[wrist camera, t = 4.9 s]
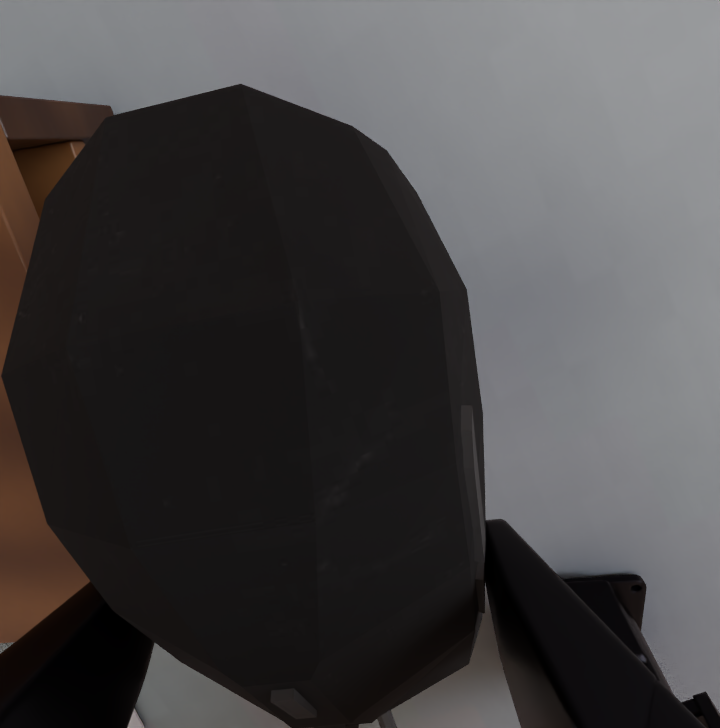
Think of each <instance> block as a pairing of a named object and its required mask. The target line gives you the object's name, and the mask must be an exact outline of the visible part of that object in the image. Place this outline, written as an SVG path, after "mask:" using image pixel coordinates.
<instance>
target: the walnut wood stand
mask: <svg viewBox="0 0 720 728" xmlns="http://www.w3.org/2000/svg"><path fill="white" fill-rule="evenodd" d="M109 116H113V112H112V108H111V107H110V106H107V105H97V104H86V103H75V102H65V101H54V100H44V99H33V98H23V97H12V96H2V95H0V643H10V642H16V641H17V640H18V639H20V638H21V637H22V636H23V635H25V634H26V633H27V632H28V631H30V630H31V629H32V628H33V627H34V626H36V625H37V624H38V623H39V622H41V621H42V620H43V619H44V618H46V617H47V616H48V615H49V614H50V613H52V612H53V611H54V610H55V609H57V608H58V607H59V606H60V605H62V604H63V603H64V602H65V601H67V600H68V599H69V598H70V597H71V596H73V595H74V594H75V593H76V592H78V591H79V590H80V589H81V588H83V587H84V586H85V585H86V584H87V583H89V582H90V580H89V579H88V577H87V576H86V575H85V573H84V572H83V571H82V569H81V568H80V567H79V565H78V564H77V563H76V561H75V560H74V559H73V558H72V556H71V555H70V554H69V552H68V551H67V550H66V548H65V547H64V546H63V544H62V543H61V542H60V540H59V539H58V538H57V536H56V535H55V534H54V532H53V531H52V530H51V528H50V527H49V526H48V525H47V522H46V519H45V516H44V512H43V509H42V506H41V503H40V500H39V496H38V493H37V490H36V487H35V483H34V480H33V477H32V474H31V471H30V467H29V464H28V461H27V458H26V455H25V451H24V448H23V445H22V442H21V438H20V435H19V432H18V429H17V426H16V422H15V419H14V416H13V413H12V410H11V406H10V403H9V400H8V397H7V393H6V390H5V387H4V384H3V381H2V377H1V374H2V370H3V366H4V362H5V358H6V354H7V350H8V346H9V342H10V338H11V334H12V330H13V326H14V322H15V318H16V314H17V310H18V306H19V302H20V298H21V294H22V290H23V286H24V282H25V278H26V274H27V270H28V266H29V262H30V258H31V254H32V249H33V245H34V241H35V237H36V233H37V229H38V225H39V221H40V217H41V213H42V209H43V205H44V201H45V199H46V197H47V196H48V194H49V193H50V192H51V190H52V189H53V188H54V186H55V185H56V184H57V182H58V181H59V180H60V178H61V177H62V176H63V174H64V173H65V172H66V170H67V169H68V168H69V166H70V165H71V163H72V162H73V161H74V159H75V158H76V157H77V155H78V154H79V153H80V151H81V150H82V149H83V147H84V146H85V143H87V142H88V141H89V139H90V138H91V137H92V135H93V134H94V132H95V131H96V130H97V128H98V127H99V126H100V124H101V123H102V122H103V120H104V119H105V118H106V117H109Z"/></svg>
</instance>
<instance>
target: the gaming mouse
mask: <svg viewBox="0 0 720 728" xmlns="http://www.w3.org/2000/svg"><path fill="white" fill-rule="evenodd" d="M1 377H2V381H3V384H4V387H5V390H6V393H7V397H8V400H9V403H10V406H11V410H12V413H13V416H14V419H15V422H16V426H17V429H18V432H19V435H20V438H21V442H22V445H23V448H24V451H25V455H26V458H27V461H28V464H29V467H30V471H31V474H32V477H33V480H34V483H35V487H36V490H37V493H38V496H39V500H40V503H41V506H42V509H43V512H44V516H45V519H46V522H47V525H48V526H49V527H50V528H51V530H52V531H53V532H54V534H55V535H56V536H57V538H58V539H59V540H60V542H61V543H62V544H63V546H64V547H65V548H66V550H67V551H68V552H69V554H70V555H71V556H72V558H73V559H74V560H75V561H76V563H77V564H78V565H79V567H80V568H81V569H82V571H83V572H84V573H85V575H86V576H87V577H88V579H89V580H90V581H91V583H92V584H93V585H94V587H95V588H96V589H97V591H98V592H99V593H100V594H101V596H102V597H103V598H104V600H105V601H106V602H107V604H108V605H109V606H110V608H111V609H112V610H113V611H114V612H115V613H117V614H118V615H119V616H121V617H122V618H123V619H125V620H126V621H127V622H129V623H130V624H131V625H133V626H134V627H135V628H137V629H138V630H139V631H141V632H142V633H143V634H144V635H146V636H147V637H148V638H150V639H151V640H152V641H154V642H155V643H156V644H158V645H159V646H160V647H162V648H163V649H164V650H166V651H167V652H168V653H170V654H171V655H172V656H174V657H175V658H176V659H178V660H179V661H180V662H182V663H184V664H185V665H187V666H189V667H191V668H192V669H194V670H196V671H197V672H199V673H201V674H203V675H204V676H206V677H208V678H210V679H211V680H213V681H215V682H216V683H218V684H220V685H222V686H223V687H225V688H227V689H229V690H230V691H232V692H234V693H235V694H237V695H239V696H241V697H242V698H244V699H246V700H248V701H249V702H251V703H253V704H254V705H256V706H258V707H260V708H261V709H263V710H265V711H267V712H268V713H270V714H272V715H273V716H275V717H277V718H279V719H280V720H282V721H284V722H285V723H286V724H287V725H289V726H290V727H291V728H358V726H359V724H364V723H372V722H373V721H375V720H376V719H378V721H379V724H380V726H381V728H397V726H396V724H395V721H394V718H393V716H392V713H391V709H393V708H395V707H396V706H398V705H400V704H402V703H403V702H405V701H407V700H408V699H410V698H412V697H413V696H415V695H417V694H419V693H420V692H422V691H424V690H425V689H427V688H429V687H430V686H432V685H434V684H436V683H437V682H439V681H441V680H442V679H444V678H446V677H447V676H449V675H451V674H453V673H454V672H456V671H458V670H459V669H461V668H463V667H464V666H466V665H468V664H469V662H470V658H471V655H472V651H473V648H474V644H475V641H476V637H477V634H478V631H479V627H480V624H481V620H482V613H485V541H486V537H485V532H486V522H485V477H484V443H483V412H482V404H481V397H480V389H479V381H478V373H477V366H476V358H475V350H474V342H473V335H472V327H471V319H470V312H469V304H468V296H467V289H466V287H465V285H464V283H463V281H462V279H461V277H460V276H459V274H458V272H457V270H456V268H455V266H454V264H453V262H452V260H451V258H450V256H449V254H448V252H447V250H446V248H445V246H444V244H443V243H442V241H441V239H440V237H439V235H438V233H437V231H436V229H435V227H434V225H433V223H432V221H431V219H430V217H429V215H428V213H427V211H426V210H425V208H424V206H423V204H422V202H421V200H420V198H419V196H418V194H417V192H416V191H415V189H414V188H413V187H412V185H411V184H410V182H409V181H408V180H407V178H406V177H405V175H404V174H403V173H402V171H401V170H400V169H399V167H398V166H397V164H396V163H395V162H394V160H393V159H392V157H391V156H390V155H389V153H388V152H387V150H385V149H384V148H382V147H381V146H380V145H378V144H377V143H375V142H374V141H372V140H371V139H370V138H368V137H367V136H365V135H364V134H363V133H361V132H360V131H358V130H357V129H355V128H354V127H353V126H350V125H348V124H345V123H343V122H340V121H337V120H335V119H332V118H329V117H327V116H324V115H322V114H319V113H316V112H314V111H311V110H308V109H306V108H303V107H300V106H298V105H295V104H293V103H290V102H287V101H285V100H282V99H279V98H277V97H274V96H271V95H269V94H266V93H264V92H261V91H258V90H256V89H253V88H250V87H248V86H245V85H242V84H238V85H234V86H230V87H226V88H222V89H218V90H214V91H210V92H206V93H202V94H198V95H194V96H190V97H186V98H182V99H178V100H174V101H170V102H166V103H162V104H158V105H154V106H150V107H146V108H141V109H137V110H133V111H129V112H125V113H121V114H117V115H113V116H109V117H106V118H105V119H104V120H103V122H102V123H101V124H100V126H99V127H98V128H97V130H96V131H95V132H94V134H93V135H92V137H91V138H90V139H89V141H88V142H87V143H86V145H85V146H84V147H83V149H82V150H81V151H80V153H79V154H78V155H77V157H76V158H75V159H74V161H73V162H72V163H71V165H70V166H69V168H68V169H67V170H66V172H65V173H64V174H63V176H62V177H61V178H60V180H59V181H58V182H57V184H56V185H55V186H54V188H53V189H52V190H51V192H50V193H49V194H48V196H47V197H46V199H45V201H44V205H43V209H42V213H41V217H40V221H39V225H38V229H37V233H36V237H35V241H34V245H33V249H32V254H31V258H30V262H29V266H28V270H27V274H26V278H25V282H24V286H23V290H22V294H21V298H20V302H19V306H18V310H17V314H16V318H15V322H14V326H13V330H12V334H11V338H10V342H9V346H8V350H7V354H6V358H5V362H4V366H3V370H2V374H1Z"/></svg>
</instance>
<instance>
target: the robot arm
mask: <svg viewBox="0 0 720 728" xmlns="http://www.w3.org/2000/svg"><path fill="white" fill-rule="evenodd" d="M485 522H486V532H485V537H486V541H485V583H486V589H487V594H488V599H489V604H490V610H491V615H492V620H493V626H494V631H495V636H496V642H497V646H498V651H499V655H500V659H501V663H502V666H503V670H504V673H505V676H506V680H507V683H508V686H509V690H510V693H511V696H512V699H513V703H514V706H515V709H516V712H517V716H518V719H519V722H520V725H521V728H720V713H719V711H718V710H717V708H716V707H715V705H714V704H713V702H712V701H711V699H710V697H709V696H708V694H707V693H706V692H703V693H700V694H697V695H694V696H693V698H694V699H690V700H687V701H684V702H680V701H679V700H678V699H677V698H676V697H675V696H674V694H673V692H672V690H671V688H670V687H669V685H668V683H667V681H666V679H665V677H664V675H663V673H662V671H661V669H660V667H659V665H658V663H657V662H656V660H655V658H654V656H653V654H652V652H651V650H650V648H649V646H648V644H647V642H646V640H645V638H644V637H643V635H642V633H641V625H642V618H643V610H644V602H645V594H646V584H645V582H644V581H643V579H642V578H641V577H640V576H639V575H619V576H606V577H592V578H578V579H564V580H562V579H561V578H560V577H559V576H558V575H557V574H556V573H555V572H554V571H553V570H552V569H551V568H550V567H549V566H548V565H547V564H546V562H545V561H544V560H543V559H542V558H541V557H540V556H539V555H538V554H537V553H536V552H535V551H534V550H533V549H532V548H531V547H530V546H529V545H528V544H527V543H526V542H525V541H524V540H523V539H522V538H521V537H520V536H519V535H518V534H517V532H516V531H515V530H514V529H513V528H512V527H511V526H510V525H509V524H508V523H507V522H506V521H504V520H502V519H495V520H485ZM153 646H154V641H152V640H151V639H150V638H148V637H147V636H146V635H144V634H143V633H142V632H141V631H139V630H138V629H137V628H135V627H134V626H133V625H131V624H130V623H129V622H127V621H126V620H125V619H123V618H122V617H121V616H119V615H118V614H117V613H115V612H114V611H113V610H112V609H111V608H110V606H109V605H108V604H107V602H106V601H105V600H104V598H103V597H102V596H101V594H100V593H99V592H98V591H97V589H96V588H95V587H94V585H93V584H92V583H91V581H90V582H89V583H87V584H86V585H85V586H84V587H83V588H81V589H80V590H79V591H78V592H76V593H75V594H74V595H73V596H71V597H70V598H69V599H68V600H67V601H65V602H64V603H63V604H62V605H60V606H59V607H58V608H57V609H55V610H54V611H53V612H52V613H50V614H49V615H48V616H47V617H46V618H44V619H43V620H42V621H41V622H39V623H38V624H37V625H36V626H34V627H33V628H32V629H31V630H30V631H28V632H27V633H26V634H25V635H23V636H22V637H21V638H20V639H18V640H17V641H16V642H15V643H13V644H12V645H11V646H10V647H9V648H7V649H6V650H5V651H4V652H2V653H1V654H0V728H127V727H128V724H129V722H130V719H131V716H132V713H133V710H134V708H135V705H136V702H137V699H138V697H139V694H140V691H141V688H142V685H143V682H144V679H145V676H146V673H147V669H148V666H149V662H150V658H151V654H152V650H153Z"/></svg>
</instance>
